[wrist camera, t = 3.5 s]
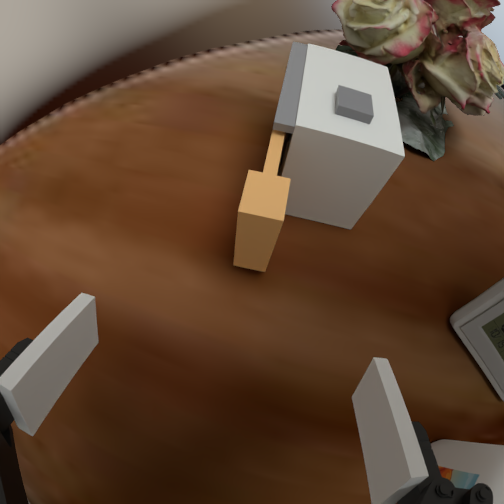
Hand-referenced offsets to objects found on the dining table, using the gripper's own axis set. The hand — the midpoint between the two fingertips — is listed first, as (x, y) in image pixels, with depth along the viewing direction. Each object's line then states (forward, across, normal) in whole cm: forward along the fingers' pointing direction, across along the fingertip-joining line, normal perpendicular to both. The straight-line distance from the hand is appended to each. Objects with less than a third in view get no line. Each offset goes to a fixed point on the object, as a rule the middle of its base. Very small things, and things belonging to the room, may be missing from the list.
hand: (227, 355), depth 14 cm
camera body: (+27, +6, +6) cm, 29 cm away
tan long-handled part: (+22, 0, +3) cm, 23 cm away
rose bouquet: (+42, +20, +21) cm, 51 cm away
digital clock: (+14, +31, -7) cm, 35 cm away
